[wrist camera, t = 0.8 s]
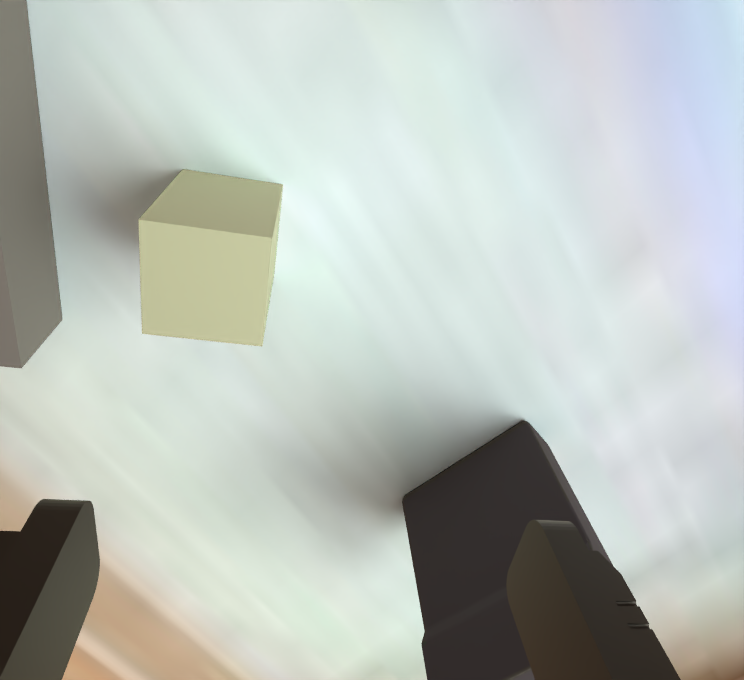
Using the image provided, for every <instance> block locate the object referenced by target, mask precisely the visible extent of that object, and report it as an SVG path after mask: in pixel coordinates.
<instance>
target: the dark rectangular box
mask: <svg viewBox="0 0 744 680" xmlns="http://www.w3.org/2000/svg"><path fill="white" fill-rule="evenodd" d="M402 503H403V509H404V515H405V521H406V527H407V532H408V538H409V544H410V550H411V555H412V561H413V567H414V572H415V578H416V584H417V590H418V595H419V601H420V607H421V612H422V618H423V624H424V630H425V633H424V637H423V640H422V650H423V656H424V662H425V668H426V674H427V680H535V678H534V675H533V673H532V670H531V667H530V664H529V661H528V658H527V655H526V652H525V649H524V646H523V643H522V640H521V637H520V634H519V632H518V629H517V626H516V623H515V620H514V617H513V614H512V611H511V608H510V605H509V601H508V597H507V586H506V583H507V574H508V570H509V567H510V565H511V562H512V560H513V557H514V555H515V552H516V550H517V548H518V545H519V543H520V540H521V538H522V535H523V533H524V531H525V528H526V526H527V524H528V523H529V522H530V521H531V520H551V521H569V522H571V523H573V524H574V525H575V526H576V528H577V529H578V531H579V533H580V535H581V537H582V539H583V541H584V543H585V544H586V546H587V548H588V550H590V551H599V552H600V553H601V554H602V555H603V556H604V557H605V558H606V559H607V560H608V561H609V562H610V563H611V561H610V559H609V557H608V555H607V554H606V552H605V550H604V548H603V546H602V544H601V542H600V540H599V539H598V537H597V535H596V533H595V531H594V529H593V527H592V526H591V524H590V522H589V520H588V518H587V516H586V514H585V513H584V511H583V509H582V507H581V505H580V503H579V501H578V500H577V498H576V496H575V494H574V492H573V490H572V488H571V487H570V485H569V483H568V481H567V479H566V477H565V475H564V474H563V472H562V470H561V468H560V466H559V464H558V462H557V461H556V459H555V457H554V455H553V453H552V451H551V449H550V448H549V446H548V444H547V443H546V442H545V441H544V440H543V438H542V437H541V436H540V435H539V434H538V433H537V431H536V430H535V429H534V428H533V427H532V426H531V425H530V424H529V423H528V422H527V421H523V422H521V423H519V424H517V425H516V426H514V427H512V428H511V429H509V430H508V431H506V432H505V433H503V434H501V435H500V436H498V437H497V438H495V439H493V440H492V441H490V442H489V443H487V444H486V445H484V446H482V447H481V448H479V449H478V450H476V451H475V452H473V453H471V454H470V455H468V456H467V457H465V458H463V459H462V460H460V461H459V462H457V463H456V464H454V465H452V466H451V467H449V468H448V469H446V470H445V471H443V472H441V473H440V474H438V475H437V476H435V477H434V478H432V479H430V480H429V481H427V482H426V483H424V484H422V485H421V486H419V487H418V488H416V489H415V490H413V491H411V492H410V493H408V494H407V495H405V496H404V498H403V500H402ZM611 564H612V563H611Z"/></svg>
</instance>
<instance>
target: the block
mask: <svg viewBox="0 0 744 680" xmlns="http://www.w3.org/2000/svg"><path fill="white" fill-rule="evenodd" d="M282 190H283V185H282V184H276V183H270V182H263V181H257V180H250V179H244V178H237V177H231V176H224V175H218V174H211V173H205V172H199V171H192V170H186V169H182V171H181V172H180V173H179V174H178V175H177V176H176V177H175V179H174V180H173V181H172V182H171V183H170V184H169V185H168V187H167V188H166V189H165V190H164V191H163V192H162V193H161V194H160V196H159V197H158V198H157V199H156V200H155V201H154V202H153V204H152V205H151V206H150V207H149V208H148V209H147V210H146V212H145V213H144V214H143V215H142V216H141V217H140V218H139V219H138V221H139V253H140V284H141V315H142V334H150V335H160V336H169V337H178V338H188V339H197V340H207V341H216V342H226V343H235V344H244V345H254V346H262V344H263V338H264V332H265V326H266V320H267V314H268V308H269V302H270V296H271V290H272V284H273V278H274V271H275V261H276V251H277V241H278V231H279V221H280V210H281V200H282Z"/></svg>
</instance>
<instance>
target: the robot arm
mask: <svg viewBox="0 0 744 680" xmlns="http://www.w3.org/2000/svg"><path fill="white" fill-rule="evenodd" d="M99 567H100V558H99V549H98V541H97V533H96V525H95V517H94V509H93V505H92V503H91V501H80V500H55V499H43V500H41V501H39V502H38V504H37V505H36V506H35V508H34V509H33V511H32V513H31V514H30V516H29V518H28V520H27V521H26V523H25V525H24V527H23V528H22V530H21V532H19V531H0V680H62V677H63V675H64V672H65V669H66V667H67V664H68V662H69V659H70V656H71V654H72V651H73V649H74V646H75V643H76V641H77V638H78V636H79V633H80V630H81V628H82V625H83V623H84V620H85V617H86V615H87V612H88V610H89V607H90V604H91V602H92V599H93V596H94V593H95V590H96V586H97V581H98V576H99ZM506 586H507V597H508V601H509V605H510V608H511V611H512V614H513V617H514V620H515V623H516V626H517V629H518V632H519V634H520V637H521V640H522V643H523V646H524V649H525V652H526V655H527V658H528V661H529V664H530V667H531V670H532V673H533V675H534V678H535V680H680V678H679V676H678V674H677V672H676V671H675V669H674V667H673V665H672V664H671V662H670V660H669V658H668V656H667V655H666V653H665V651H664V649H663V648H662V646H661V644H660V642H659V641H658V639H657V637H656V635H655V633H654V632H653V630H652V629H649V623H648V621H647V619H646V618H645V616H644V614H643V612H642V610H641V609H640V607H638V606H637V605H636V600H635V598H634V596H633V595H632V593H631V591H630V589H629V587H628V586H627V584H626V582H625V580H624V579H623V577H622V575H621V574H620V573H619V572H618V571H617V570H616V569H615V568H614V567H613V565H612V564H611V563H610V562H609V561H608V560H607V559H606V558H605V557H604V556H603V555H602V554H601V553H600V552H599V551H590V550H588V548H587V546H586V544H585V543H584V541H583V539H582V537H581V535H580V533H579V531H578V529H577V528H576V526H575V525H574V524H573V523H571V522H569V521H551V520H531V521H530V522H529V523H528V524H527V526H526V528H525V531H524V533H523V535H522V538H521V540H520V543H519V545H518V548H517V550H516V552H515V555H514V557H513V560H512V562H511V565H510V567H509V570H508V574H507V583H506Z"/></svg>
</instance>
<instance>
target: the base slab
mask: <svg viewBox="0 0 744 680" xmlns="http://www.w3.org/2000/svg"><path fill="white" fill-rule="evenodd" d="M61 321H62V312H61V303H60V294H59V285H58V276H57V267H56V259H55V250H54V241H53V232H52V223H51V214H50V206H49V197H48V188H47V179H46V170H45V161H44V153H43V144H42V135H41V126H40V117H39V108H38V100H37V91H36V82H35V73H34V64H33V55H32V46H31V38H30V29H29V20H28V11H27V2H26V0H0V366H4V367H14V368H22V367H23V366H24V365H25V364H26V362H27V361H28V360H29V359H30V358H31V356H32V355H33V354H34V353H35V352H36V350H37V349H38V348H39V347H40V346H41V344H42V343H43V342H44V341H45V340H46V338H47V337H48V336H49V335H50V334H51V333H52V331H53V330H54V329H55V328H56V327H57V325H58V324H59V323H60V322H61Z"/></svg>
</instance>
